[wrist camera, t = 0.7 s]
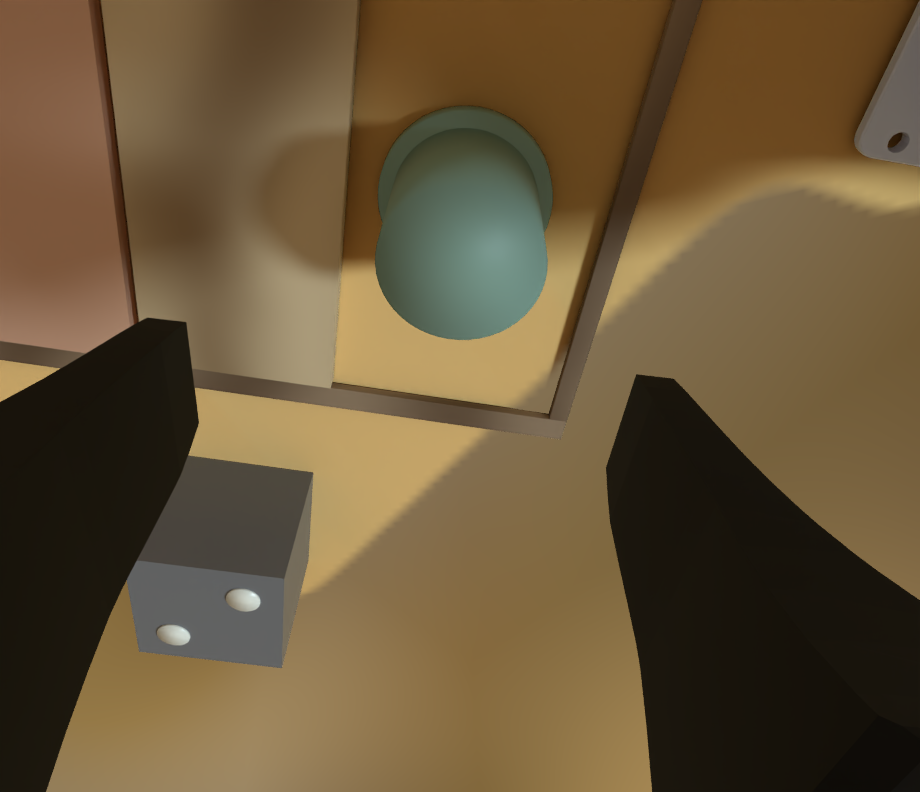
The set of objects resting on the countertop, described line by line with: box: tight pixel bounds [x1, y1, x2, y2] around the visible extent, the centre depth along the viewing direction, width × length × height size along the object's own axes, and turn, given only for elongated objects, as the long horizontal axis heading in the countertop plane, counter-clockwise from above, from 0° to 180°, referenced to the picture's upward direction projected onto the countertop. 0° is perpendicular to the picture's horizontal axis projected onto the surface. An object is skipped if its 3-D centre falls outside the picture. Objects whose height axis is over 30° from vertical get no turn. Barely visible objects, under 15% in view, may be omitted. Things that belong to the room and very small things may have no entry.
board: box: [0, 0, 702, 439], centre depth 20 cm, size 21×16×1 cm
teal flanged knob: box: [375, 106, 553, 340], centre depth 19 cm, size 5×5×4 cm
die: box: [127, 456, 313, 668], centre depth 27 cm, size 5×5×5 cm
